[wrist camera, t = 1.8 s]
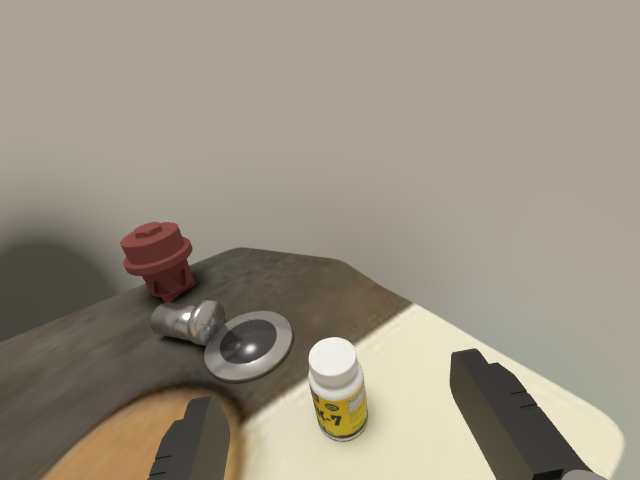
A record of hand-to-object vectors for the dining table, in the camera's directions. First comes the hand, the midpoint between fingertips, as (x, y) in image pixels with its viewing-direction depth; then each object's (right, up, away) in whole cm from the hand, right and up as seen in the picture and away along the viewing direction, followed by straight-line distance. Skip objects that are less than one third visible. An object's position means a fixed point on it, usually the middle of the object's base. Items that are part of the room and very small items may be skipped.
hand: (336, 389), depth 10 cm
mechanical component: (-25, -4, +42) cm, 50 cm away
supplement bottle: (+2, -12, +19) cm, 22 cm away
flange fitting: (-13, -8, +30) cm, 34 cm away
